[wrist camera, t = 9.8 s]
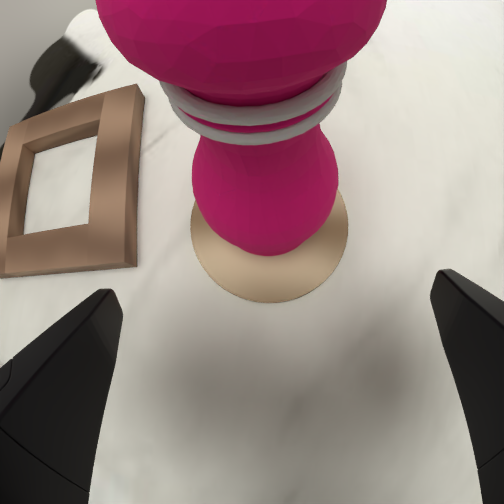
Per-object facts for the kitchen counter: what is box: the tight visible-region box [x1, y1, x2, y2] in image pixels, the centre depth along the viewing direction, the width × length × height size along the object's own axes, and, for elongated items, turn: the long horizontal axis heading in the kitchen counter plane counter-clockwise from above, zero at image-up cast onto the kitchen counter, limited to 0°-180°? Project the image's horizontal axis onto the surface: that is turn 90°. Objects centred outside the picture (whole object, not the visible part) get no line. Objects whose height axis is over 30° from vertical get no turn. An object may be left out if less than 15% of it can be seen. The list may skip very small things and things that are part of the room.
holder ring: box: [0, 84, 145, 278], centre depth 21 cm, size 14×14×2 cm
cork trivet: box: [191, 189, 348, 303], centre depth 20 cm, size 10×10×1 cm
